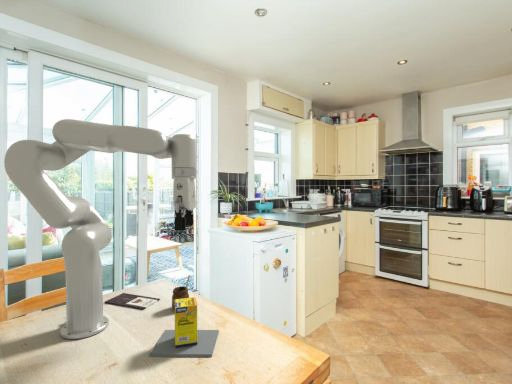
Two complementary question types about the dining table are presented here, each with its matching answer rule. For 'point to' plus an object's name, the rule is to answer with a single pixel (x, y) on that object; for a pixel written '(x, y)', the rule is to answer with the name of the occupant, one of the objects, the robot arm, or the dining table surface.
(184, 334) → the supplement box
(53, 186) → the robot arm
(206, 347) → the gray mat
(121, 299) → the chocolate bar
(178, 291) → the utensil holder
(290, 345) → the dining table surface
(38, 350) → the dining table surface
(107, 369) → the dining table surface
